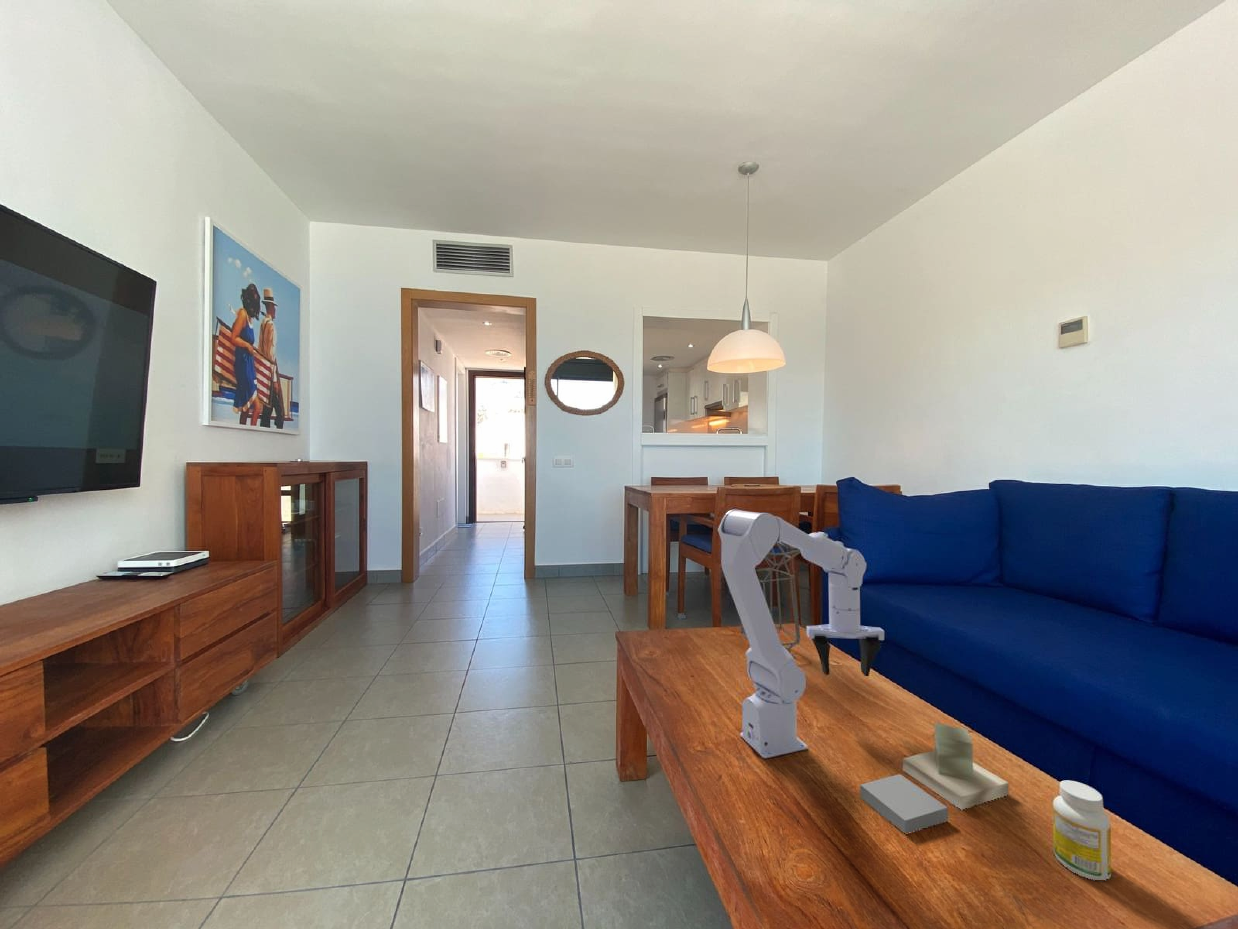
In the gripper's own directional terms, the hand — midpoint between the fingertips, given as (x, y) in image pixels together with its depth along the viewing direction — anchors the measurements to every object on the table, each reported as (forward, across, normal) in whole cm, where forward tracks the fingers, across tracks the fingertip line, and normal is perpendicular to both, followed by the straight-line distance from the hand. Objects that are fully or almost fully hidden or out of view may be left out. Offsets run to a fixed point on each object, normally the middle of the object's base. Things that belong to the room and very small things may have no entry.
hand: (845, 673), depth 97 cm
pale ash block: (+9, +10, -18) cm, 23 cm away
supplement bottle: (+10, +17, -34) cm, 39 cm away
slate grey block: (+9, -1, -26) cm, 27 cm away
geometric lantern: (+10, -9, +34) cm, 37 cm away
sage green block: (+7, +10, -18) cm, 22 cm away
